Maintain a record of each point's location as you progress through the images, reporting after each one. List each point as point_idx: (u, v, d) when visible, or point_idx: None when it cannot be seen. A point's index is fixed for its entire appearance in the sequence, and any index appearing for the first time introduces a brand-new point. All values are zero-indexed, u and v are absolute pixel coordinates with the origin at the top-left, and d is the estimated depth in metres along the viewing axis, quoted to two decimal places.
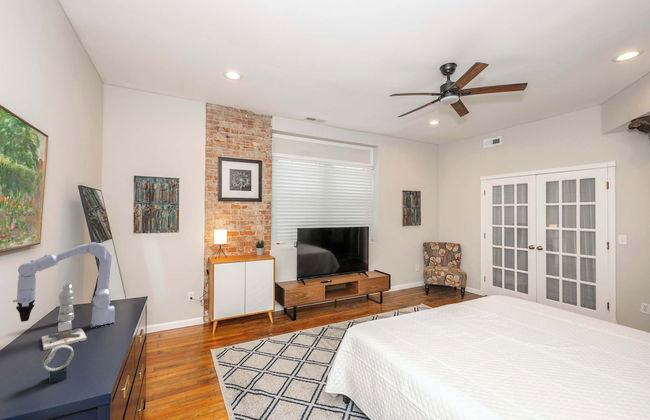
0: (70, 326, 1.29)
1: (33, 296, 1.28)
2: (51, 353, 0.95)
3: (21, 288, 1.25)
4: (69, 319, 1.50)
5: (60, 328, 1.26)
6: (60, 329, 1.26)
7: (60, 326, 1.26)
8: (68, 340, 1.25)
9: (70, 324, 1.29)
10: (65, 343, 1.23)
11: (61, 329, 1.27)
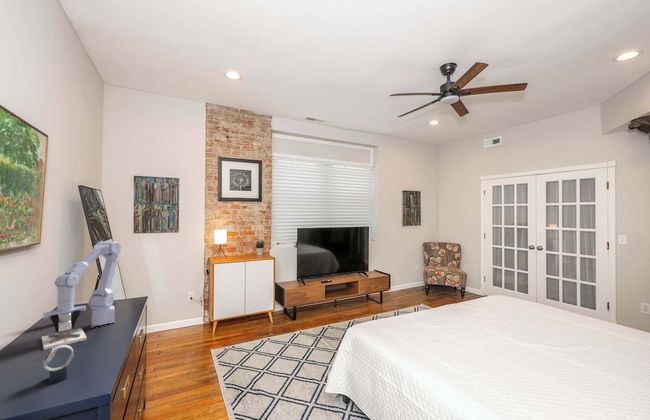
0: (70, 326, 1.29)
1: (62, 309, 1.27)
2: (51, 353, 0.95)
3: (66, 299, 1.28)
4: (69, 319, 1.50)
5: (60, 328, 1.26)
6: (60, 329, 1.26)
7: (60, 326, 1.26)
8: (68, 340, 1.25)
9: (70, 324, 1.29)
10: (65, 343, 1.23)
11: (61, 329, 1.27)
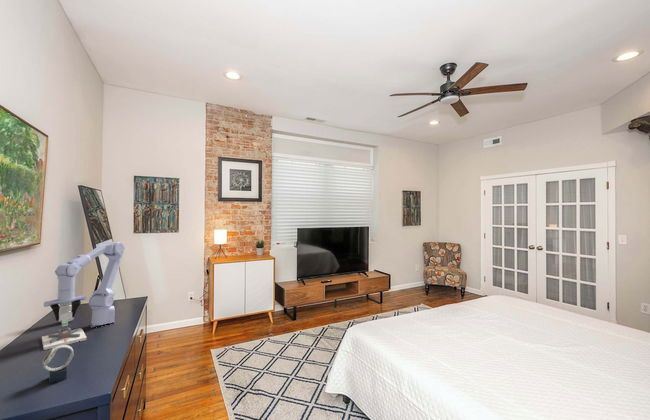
0: (70, 315, 1.29)
1: (62, 298, 1.27)
2: (51, 353, 0.95)
3: (67, 288, 1.28)
4: (69, 319, 1.50)
5: (61, 317, 1.27)
6: (60, 318, 1.27)
7: (61, 315, 1.27)
8: (68, 340, 1.25)
9: (70, 313, 1.29)
10: (65, 343, 1.23)
11: (62, 318, 1.27)
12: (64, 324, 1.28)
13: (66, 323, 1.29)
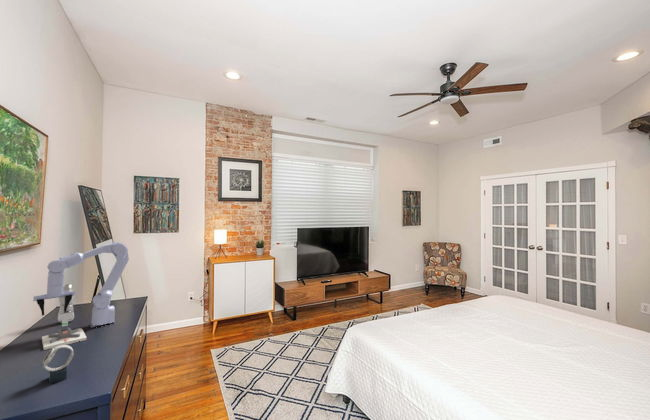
0: (70, 315, 1.29)
1: (51, 293, 1.32)
2: (51, 353, 0.95)
3: (51, 284, 1.32)
4: (69, 319, 1.50)
5: (61, 317, 1.27)
6: (60, 318, 1.27)
7: (61, 315, 1.27)
8: (68, 340, 1.25)
9: (70, 313, 1.29)
10: (65, 343, 1.23)
11: (62, 318, 1.27)
12: (64, 324, 1.28)
13: (66, 323, 1.29)
